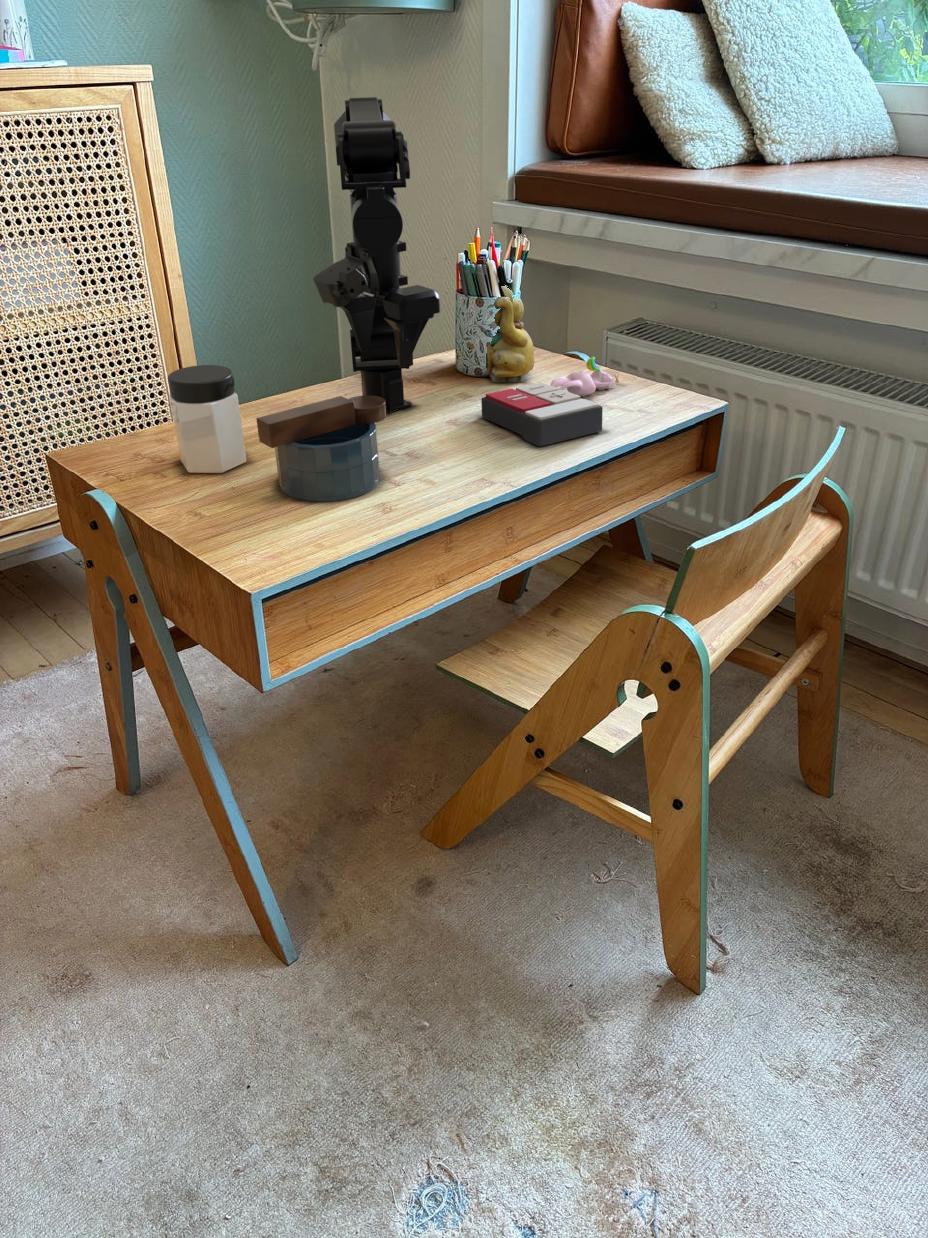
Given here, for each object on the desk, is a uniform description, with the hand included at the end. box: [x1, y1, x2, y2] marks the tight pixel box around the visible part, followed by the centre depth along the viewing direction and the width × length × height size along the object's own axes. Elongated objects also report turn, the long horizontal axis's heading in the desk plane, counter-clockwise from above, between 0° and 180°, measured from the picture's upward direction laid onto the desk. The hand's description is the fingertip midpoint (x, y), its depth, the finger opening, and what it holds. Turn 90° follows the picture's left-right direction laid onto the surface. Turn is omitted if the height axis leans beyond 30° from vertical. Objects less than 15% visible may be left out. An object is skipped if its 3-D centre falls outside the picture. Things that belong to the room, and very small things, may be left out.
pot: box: [274, 423, 380, 503], centre depth 123 cm, size 13×13×7 cm
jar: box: [167, 364, 247, 474], centre depth 128 cm, size 9×8×12 cm
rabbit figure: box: [549, 356, 620, 398], centre depth 151 cm, size 6×6×15 cm
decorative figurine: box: [485, 285, 535, 383], centre depth 157 cm, size 10×8×15 cm
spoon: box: [255, 395, 387, 449], centre depth 120 cm, size 17×5×3 cm, turn 130°
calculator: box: [480, 381, 604, 447], centre depth 140 cm, size 11×4×15 cm
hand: (383, 358), depth 130 cm, fingers open, 9 cm apart
